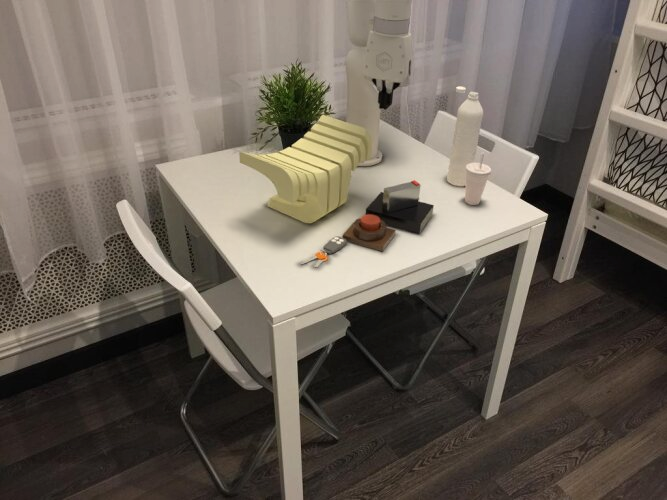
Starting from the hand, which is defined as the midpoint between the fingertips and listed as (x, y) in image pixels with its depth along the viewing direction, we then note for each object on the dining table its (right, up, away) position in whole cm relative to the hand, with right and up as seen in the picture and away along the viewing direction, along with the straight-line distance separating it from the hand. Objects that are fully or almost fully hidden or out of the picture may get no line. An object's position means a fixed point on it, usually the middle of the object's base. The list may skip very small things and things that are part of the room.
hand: (384, 107), depth 137 cm
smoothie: (+24, -21, +16) cm, 36 cm away
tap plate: (+4, -25, +8) cm, 27 cm away
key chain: (-14, -35, -7) cm, 38 cm away
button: (-4, -28, -2) cm, 28 cm away
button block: (-4, -31, 0) cm, 31 cm away
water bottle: (+22, -14, +26) cm, 37 cm away
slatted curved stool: (-18, -23, +11) cm, 31 cm away
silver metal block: (+4, -23, +6) cm, 24 cm away
